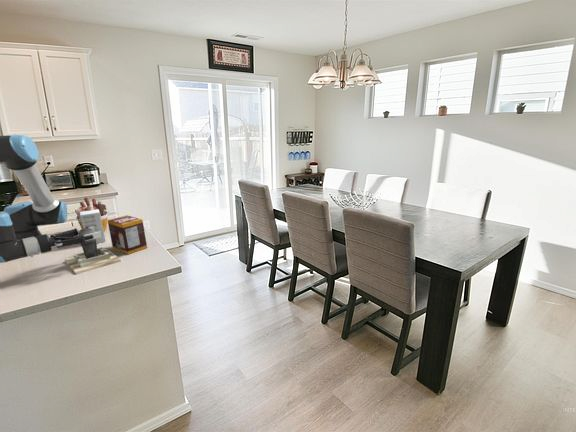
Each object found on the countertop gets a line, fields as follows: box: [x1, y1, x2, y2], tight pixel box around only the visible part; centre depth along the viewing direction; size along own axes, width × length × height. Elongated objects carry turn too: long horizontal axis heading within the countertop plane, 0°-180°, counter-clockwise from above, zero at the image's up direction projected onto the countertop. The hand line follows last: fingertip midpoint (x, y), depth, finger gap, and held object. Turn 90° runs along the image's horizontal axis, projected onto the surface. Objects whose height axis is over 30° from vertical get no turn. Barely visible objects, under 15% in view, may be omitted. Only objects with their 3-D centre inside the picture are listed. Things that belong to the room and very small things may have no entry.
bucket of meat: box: [74, 197, 109, 232], centre depth 186 cm, size 20×16×20 cm
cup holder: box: [64, 247, 121, 275], centre depth 145 cm, size 20×18×4 cm
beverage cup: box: [77, 218, 98, 259], centre depth 142 cm, size 7×7×20 cm
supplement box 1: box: [80, 209, 107, 244], centre depth 170 cm, size 10×9×17 cm
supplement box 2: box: [107, 215, 148, 255], centre depth 158 cm, size 10×15×16 cm
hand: (97, 231), depth 145 cm, fingers open, 10 cm apart
